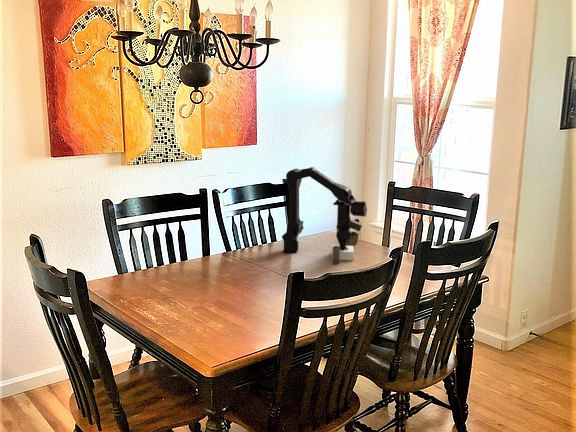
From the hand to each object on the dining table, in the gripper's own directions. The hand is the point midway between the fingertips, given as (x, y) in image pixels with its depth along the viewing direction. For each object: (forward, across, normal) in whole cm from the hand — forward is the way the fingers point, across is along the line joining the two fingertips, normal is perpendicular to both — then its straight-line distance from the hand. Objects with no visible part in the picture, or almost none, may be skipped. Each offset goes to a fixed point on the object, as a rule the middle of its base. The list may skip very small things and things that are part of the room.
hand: (342, 247), depth 274 cm
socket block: (+5, 0, 0) cm, 5 cm away
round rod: (+5, -11, +3) cm, 12 cm away
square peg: (+5, 0, 0) cm, 5 cm away
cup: (+5, +14, -4) cm, 15 cm away
